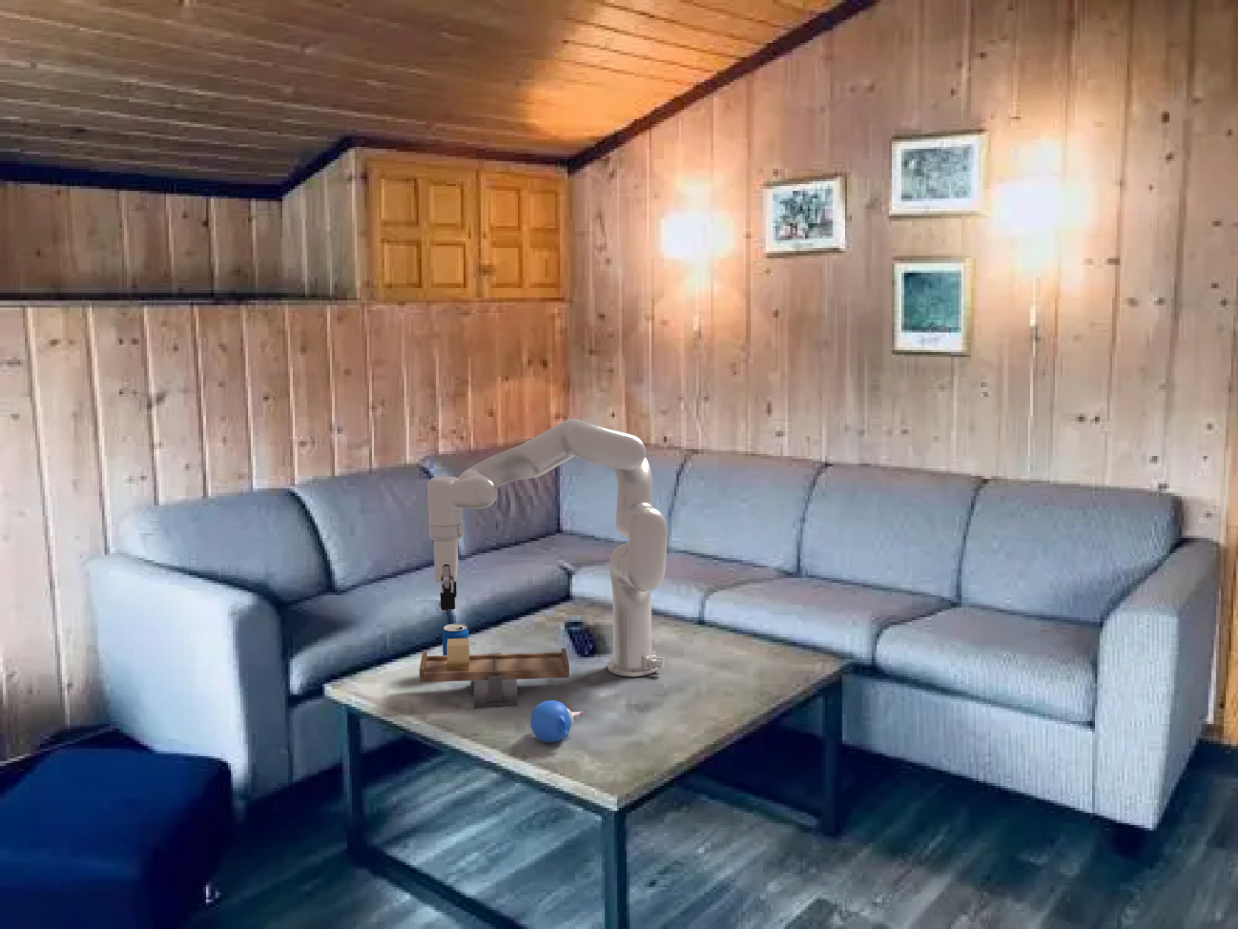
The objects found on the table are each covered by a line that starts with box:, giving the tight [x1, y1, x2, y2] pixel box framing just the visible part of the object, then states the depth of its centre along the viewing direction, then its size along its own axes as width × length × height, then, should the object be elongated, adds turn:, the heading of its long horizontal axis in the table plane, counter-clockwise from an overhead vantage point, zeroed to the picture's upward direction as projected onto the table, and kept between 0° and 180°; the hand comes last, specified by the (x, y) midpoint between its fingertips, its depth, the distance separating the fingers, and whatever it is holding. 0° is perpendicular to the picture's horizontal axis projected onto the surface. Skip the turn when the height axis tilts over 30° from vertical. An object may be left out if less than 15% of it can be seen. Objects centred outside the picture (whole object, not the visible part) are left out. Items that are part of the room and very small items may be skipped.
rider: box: [447, 637, 470, 671], centre depth 246 cm, size 5×5×6 cm
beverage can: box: [441, 623, 471, 656], centre depth 260 cm, size 6×6×12 cm
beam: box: [418, 647, 570, 683], centre depth 247 cm, size 34×13×3 cm, turn 97°
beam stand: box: [473, 652, 519, 710], centre depth 248 cm, size 10×18×7 cm, turn 7°
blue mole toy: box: [530, 699, 584, 743], centre depth 222 cm, size 12×12×8 cm
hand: (448, 603), depth 244 cm, fingers open, 9 cm apart
